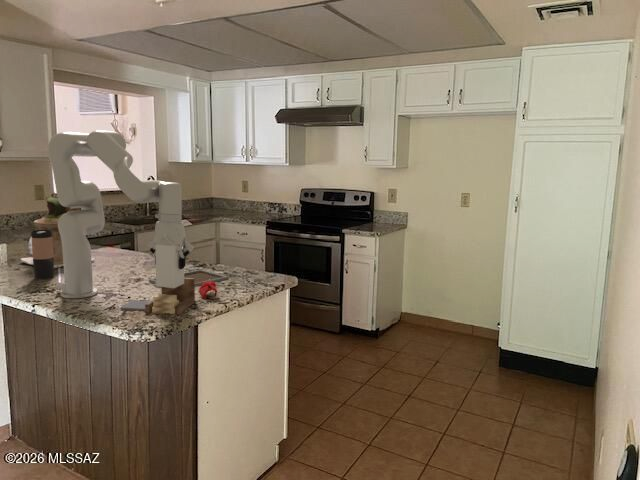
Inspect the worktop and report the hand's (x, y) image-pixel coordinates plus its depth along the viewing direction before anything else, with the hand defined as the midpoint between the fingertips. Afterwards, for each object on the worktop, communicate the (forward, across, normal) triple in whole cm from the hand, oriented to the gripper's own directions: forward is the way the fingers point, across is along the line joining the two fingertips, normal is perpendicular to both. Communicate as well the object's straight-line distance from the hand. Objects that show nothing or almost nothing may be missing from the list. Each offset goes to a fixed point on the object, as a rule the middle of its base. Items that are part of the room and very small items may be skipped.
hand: (170, 267), depth 171 cm
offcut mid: (+12, +1, -6) cm, 14 cm away
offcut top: (+10, +1, -6) cm, 12 cm away
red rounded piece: (+14, +10, +14) cm, 22 cm away
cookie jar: (+17, -78, +57) cm, 98 cm away
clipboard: (+15, -6, +35) cm, 39 cm away
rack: (+14, +1, -2) cm, 14 cm away
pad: (+14, -10, -2) cm, 18 cm away
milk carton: (+7, 0, 0) cm, 7 cm away
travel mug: (+16, -66, +29) cm, 74 cm away
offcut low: (+15, +1, -6) cm, 16 cm away
